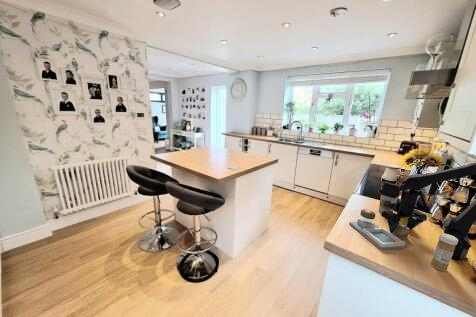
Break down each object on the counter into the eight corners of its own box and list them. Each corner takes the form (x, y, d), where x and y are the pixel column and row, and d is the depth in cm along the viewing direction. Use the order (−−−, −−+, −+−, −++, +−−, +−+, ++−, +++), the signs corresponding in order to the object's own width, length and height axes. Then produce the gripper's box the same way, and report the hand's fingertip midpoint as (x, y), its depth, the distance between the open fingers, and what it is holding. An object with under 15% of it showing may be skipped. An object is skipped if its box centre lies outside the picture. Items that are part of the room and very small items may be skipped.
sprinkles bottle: (445, 266, 73) (457, 236, 70) (447, 273, 70) (460, 242, 66) (429, 260, 76) (439, 231, 73) (430, 267, 73) (441, 236, 69)
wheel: (377, 219, 92) (378, 214, 92) (366, 219, 92) (367, 215, 91) (367, 212, 98) (368, 208, 98) (357, 213, 97) (358, 208, 97)
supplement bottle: (408, 229, 96) (413, 211, 94) (395, 224, 101) (400, 206, 98) (412, 226, 99) (417, 209, 97) (399, 221, 104) (403, 204, 101)
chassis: (404, 248, 82) (407, 240, 82) (380, 249, 81) (382, 242, 80) (369, 223, 101) (371, 216, 100) (349, 224, 99) (350, 217, 98)
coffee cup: (394, 212, 113) (401, 189, 109) (393, 217, 107) (400, 193, 103) (377, 207, 118) (383, 185, 115) (375, 212, 112) (381, 188, 109)
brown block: (407, 238, 89) (410, 227, 88) (399, 238, 89) (402, 228, 87) (397, 231, 94) (400, 221, 93) (389, 232, 94) (392, 221, 92)
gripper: (407, 194, 96) (400, 221, 100) (375, 194, 93) (368, 222, 97) (432, 204, 86) (422, 234, 89) (396, 205, 83) (388, 236, 87)
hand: (399, 231), depth 91 cm, fingers open, 9 cm apart
